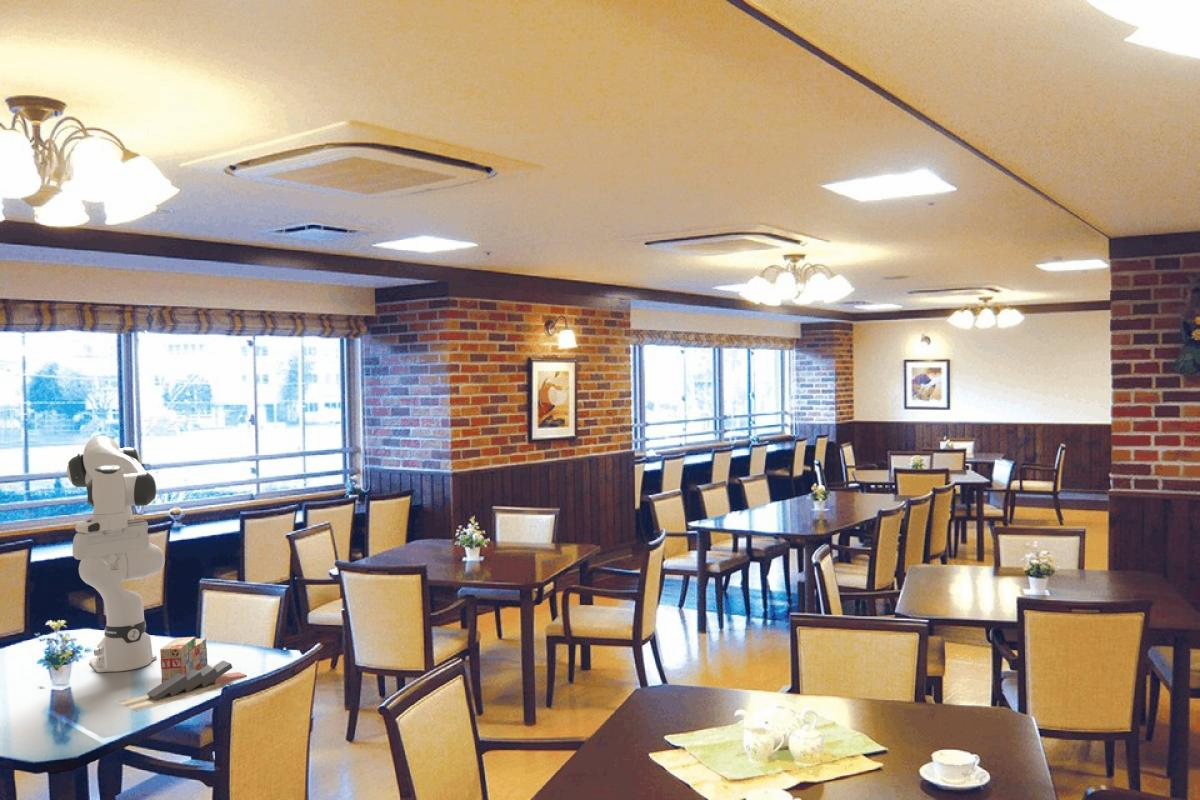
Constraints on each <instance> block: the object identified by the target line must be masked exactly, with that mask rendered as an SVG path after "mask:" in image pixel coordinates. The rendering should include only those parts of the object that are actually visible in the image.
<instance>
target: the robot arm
mask: <svg viewBox="0 0 1200 800" xmlns="http://www.w3.org/2000/svg"><path fill="white" fill-rule="evenodd" d="M67 464H68V465H67V466H66V467H67V468H66V474H67V478H68V481H70V483H71V484H72V485H73V486H74V487H76V488H86V492H87V494H86V496H87V500H86V503H87V504H89V505H90V506H92V507H93V511H92V515H93V516H92V517H91V518H88V519H86V520H83V521H82V522H79V523H77V524H75V531H76V533H75V535H74V536H73V539H72V540H73V541H72V556H73V558H74V559H75V560H79V561H80V562H79V566H78V574H79V577H80V579H81V580H82V581H83V582H84V583H85V584H86V585H89V586H91V587H93V588H94V589H95V590H96V591H97V592H98V594H100V596H101V598H102V599H103V603H104V610H105V617H106V624H105V625H104V626H105V628H104V633H103V634H104V637H103V638H102V639H101V640H100V642H99V643H98V644H97V645H96V648H94V649H93V655H94V656H95V657H94V658H92V659H90V660H89V664H90V666H91V667H92V668H93V670H95V672H96V673H106V672H109V673H110V672H124V671H130V670H137V669H140V668H143V667H145V666H147V665H150V664H151V663H152V662H153V661H155V660H157V658H158V657H157V654H153V649H152V639H151V636H150V635H149V633H147V631H146V630H147V623H146V619H145V615H144V613H145V611H144V600H143V597H142V595H141V594H140V593H137V592H135V591H133V590H130V589H125V588H124V582H126V581H134V580H139V579H140V580H141V579H146V578H149V577H153V576H154V575H157V574H160V573H161V572H162V570H163V568H164V566H165V562H166V558H165V557H166V556H165V554H164V552H163V550H162V548H161V547H159V546H158V545H157V544H153V543H152V542H151V541H150V537H149V533H148V530H149V524H148V521H147V520H146V519H143V518H137V519H135V518H134V514H133V510H132V507H133V506H134V507H135V506H136V507H144V506H145V507H147V506H148V505H149V504H151V503H152V502H153V501H154V499H156V496H157V484H156V481H155V478H154V476H152V474H150V473H149V472H147V471H146V469H145V468H144V467H143V464H142V458H141V455H140V454H139V452H138V451H137V449H136V448H135V447H125V446H124V447H123V448H120V446H119V445H118V443H117V442H116V441H115V440H113V438H111V437H109V436H106V435H99V436H95V437H92V438H91V439H90V440H89V441H88V442H87V443H86V445H85V447H84V450H83V453H81V454H80V453H78V454H77V455H76V456H74V457H72V458H71V459H69V461H68V463H67Z"/></svg>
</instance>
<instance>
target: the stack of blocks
mask: <svg viewBox="0 0 1200 800" xmlns="http://www.w3.org/2000/svg"><path fill="white" fill-rule="evenodd" d="M159 653H160V670H161V671H160V672H161V683H163V682H164V681H166V680H168V679H169V678H171V677H172V676H174V675H175V674H177V673H180V674H182V675H184V674H186V673H187V672H189V671H190V670H192V669H194V670H197V671H199V670H200V669H202V668H204V667H205V666H207V665H208V648H207V638H206V637H205V638H203V637H202V638H196V636H187V637H186V636H185V637H175V638H174V639H172V640H171V641H170V642H169V643H167V644H166V645H164V646H163V647H161V648H160V651H159ZM208 666H209V665H208Z"/></svg>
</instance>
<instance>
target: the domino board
mask: <svg viewBox="0 0 1200 800" xmlns="http://www.w3.org/2000/svg"><path fill="white" fill-rule="evenodd" d="M223 686H224V685H222V684H213V683H209V684H208V685H206V686H205V687H201V686H199V685H198V686H196V687H195V688H193V689H192V690H190V691H189V692H184V691H180V692H179V693H177V694H176V695H174V696H173V697H171V696H169V695H167V694H166V695H165V696H163V697H162V698H160V699H159V700H157V701H155V700H153V699H151V698H149V697H148V695H147V693H144V694H141V695H138V696H137V695H136V696H134V697H130V698H127V699H123V700H119V701H117V703H119V704H121V705H123V706H124V707H126V708H129V709H131V710H133V711H135V712H139V711H143V710H147V709H151V708H154V707H157V706H161V705H164V704H165V705H166V704H168V703H171V702H175V701H178V700H179V701H180V700H183V699H186V698H189V697H190V698H191V697H194V696H196V695H200V694H204V693H208V692H212V691H214V690H218V689H219V690H220V689H221V688H224V687H223Z"/></svg>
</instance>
